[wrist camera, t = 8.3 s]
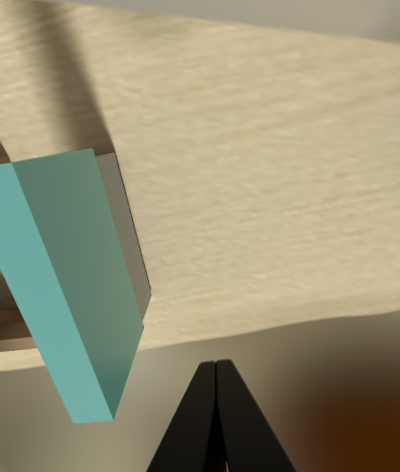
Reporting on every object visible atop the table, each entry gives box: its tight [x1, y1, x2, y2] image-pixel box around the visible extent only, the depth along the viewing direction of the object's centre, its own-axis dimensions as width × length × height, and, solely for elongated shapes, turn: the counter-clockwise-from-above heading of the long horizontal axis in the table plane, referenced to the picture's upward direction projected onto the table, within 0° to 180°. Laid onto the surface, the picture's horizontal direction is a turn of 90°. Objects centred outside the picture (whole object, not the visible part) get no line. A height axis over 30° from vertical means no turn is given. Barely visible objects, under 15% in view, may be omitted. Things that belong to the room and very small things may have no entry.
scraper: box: [0, 148, 151, 423], centre depth 15 cm, size 2×12×10 cm, turn 9°
